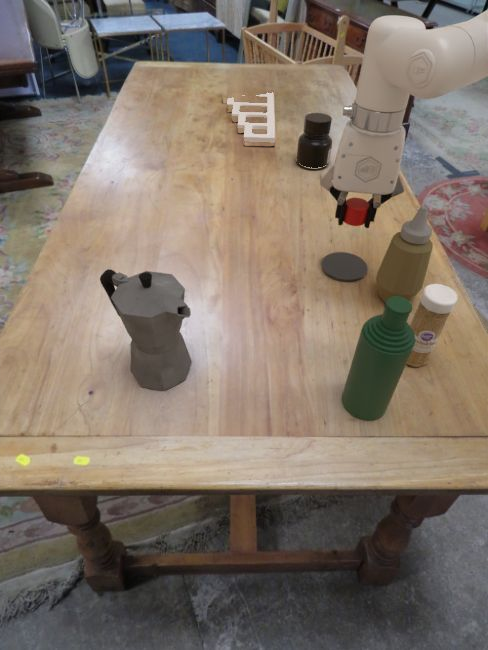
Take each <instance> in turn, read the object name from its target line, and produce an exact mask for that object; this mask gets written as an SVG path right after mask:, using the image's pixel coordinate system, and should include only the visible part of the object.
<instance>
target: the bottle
mask: <svg viewBox="0 0 488 650" xmlns="http://www.w3.org/2000/svg"><path fill="white" fill-rule="evenodd" d="M412 311H413V305H412V302H411V300H410V301H409V300H407V299H406V298H403V297H400V296H393V297H390V298H388V299H387V300H386V302H385V304H384V308H383V311H382V313H381V314H377V315H374V316H371V317H370V318H368V319H367V320H366V321H365V322H364V323H363V325H362V327H361V330H360V334H359V336H358V339H357V344H356V347H355V350H354V353H353V357H352V361H351V363H350V367H349V370H348V374H347V378H346V380H345V384H344V387H343V391H342V395H341V402H342V405H343V407H344V409H345V410H346V411H347V412H348V414H350V415H351V416H352V417H354V418H356V419H358V420H361V421H367V422H369V421H370V422H372V421H376V420H378V419H380V418H382V417H383V416H384V415H385V414H386V411H387V410H388V407H389V405H390V403H391V400H392V398H393V396H394V394H395V391H396V389H397V387H398V384H399V382H400V379H401V378H402V375H403V372H404V370H405V369H406V366H407V364H406V363H407V361H408V359H409V356H410V354H411V352H412V349H413V347H414V345H415V334H414V331H413V329H412V328H411V327H410V324H409V323H408V319H409V316H410V314H411V313H412Z"/></svg>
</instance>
